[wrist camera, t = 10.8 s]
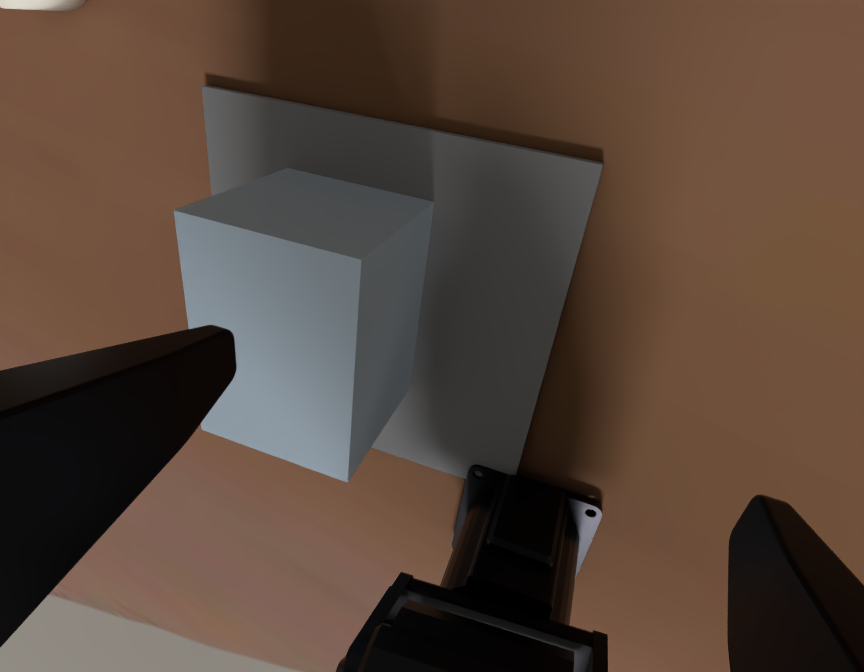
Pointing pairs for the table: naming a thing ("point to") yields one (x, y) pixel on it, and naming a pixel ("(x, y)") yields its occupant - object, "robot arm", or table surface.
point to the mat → (441, 258)
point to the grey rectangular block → (308, 310)
